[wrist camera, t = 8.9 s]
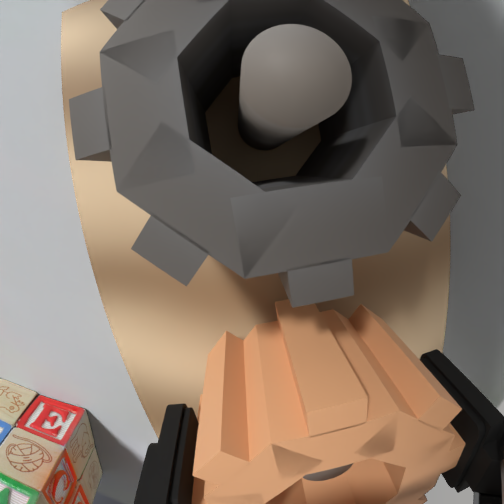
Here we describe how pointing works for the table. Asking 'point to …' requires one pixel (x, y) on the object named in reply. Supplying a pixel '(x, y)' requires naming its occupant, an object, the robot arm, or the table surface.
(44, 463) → the stack of blocks
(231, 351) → the loose gear
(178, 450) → the robot arm
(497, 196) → the table surface
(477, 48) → the table surface
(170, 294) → the gear board
